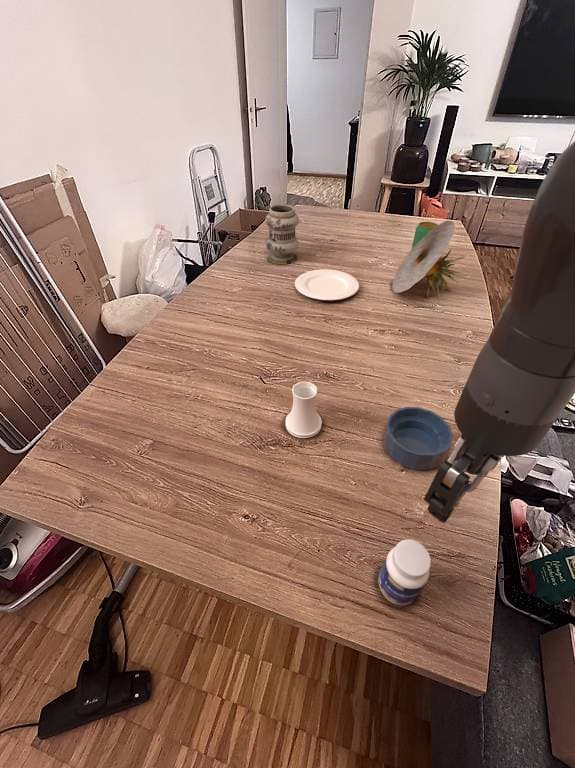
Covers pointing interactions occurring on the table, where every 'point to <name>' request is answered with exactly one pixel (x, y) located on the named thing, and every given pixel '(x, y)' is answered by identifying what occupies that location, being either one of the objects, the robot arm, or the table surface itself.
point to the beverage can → (422, 231)
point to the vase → (303, 411)
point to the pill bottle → (404, 572)
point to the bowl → (417, 438)
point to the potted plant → (427, 261)
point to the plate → (326, 285)
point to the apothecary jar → (282, 233)
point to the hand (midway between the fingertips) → (457, 492)
